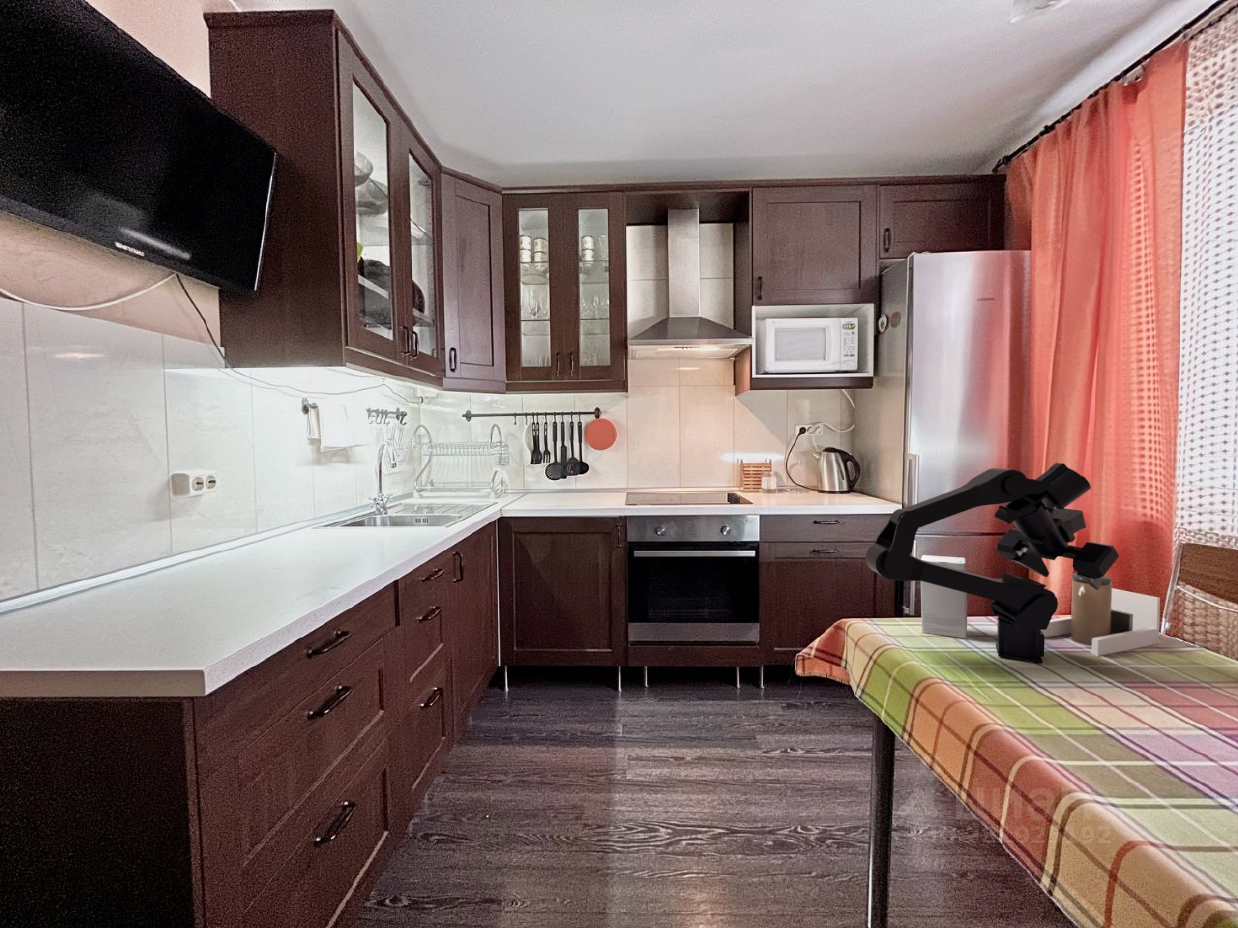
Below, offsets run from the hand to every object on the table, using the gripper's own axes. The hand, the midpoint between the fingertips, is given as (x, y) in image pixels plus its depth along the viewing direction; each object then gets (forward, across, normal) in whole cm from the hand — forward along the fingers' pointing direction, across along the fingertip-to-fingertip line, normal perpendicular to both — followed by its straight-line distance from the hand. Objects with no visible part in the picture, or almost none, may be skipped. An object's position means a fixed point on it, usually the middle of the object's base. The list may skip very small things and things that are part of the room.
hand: (1071, 581), depth 106 cm
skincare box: (0, +14, +21) cm, 25 cm away
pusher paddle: (+17, +1, -1) cm, 17 cm away
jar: (+14, +1, +3) cm, 15 cm away
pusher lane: (+15, +1, +2) cm, 15 cm away
